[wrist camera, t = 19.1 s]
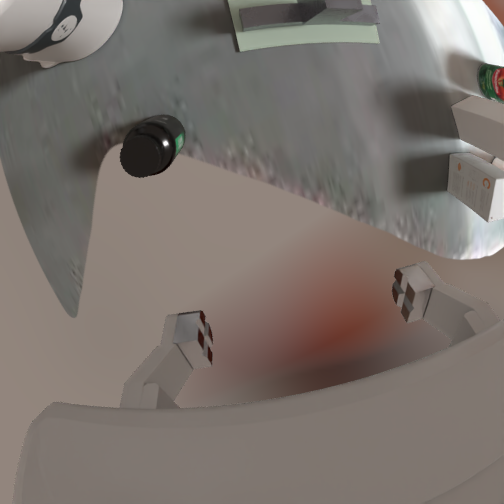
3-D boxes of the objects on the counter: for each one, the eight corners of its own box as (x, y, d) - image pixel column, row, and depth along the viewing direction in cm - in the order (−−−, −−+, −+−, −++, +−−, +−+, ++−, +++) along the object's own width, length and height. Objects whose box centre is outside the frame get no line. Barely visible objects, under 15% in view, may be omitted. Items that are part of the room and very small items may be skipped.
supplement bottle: (195, 128, 37) (181, 146, 27) (171, 166, 40) (151, 197, 30) (156, 105, 34) (128, 116, 25) (133, 144, 37) (102, 169, 27)
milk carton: (459, 139, 39) (532, 179, 23) (450, 105, 35) (529, 135, 19) (480, 126, 37) (550, 161, 21) (471, 94, 33) (548, 121, 17)
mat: (240, 52, 31) (240, 51, 31) (227, -1, 26) (227, -2, 26) (378, 43, 30) (379, 43, 30) (367, -6, 25) (368, -7, 24)
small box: (466, 187, 44) (506, 218, 34) (446, 191, 45) (487, 223, 34) (469, 151, 40) (514, 177, 29) (449, 152, 40) (495, 179, 29)
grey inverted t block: (243, 35, 29) (249, 13, 19) (238, 11, 27) (241, -20, 16) (371, 28, 28) (420, 18, 18) (366, 6, 26) (413, -11, 15)
